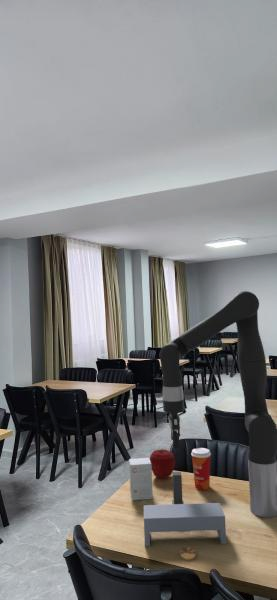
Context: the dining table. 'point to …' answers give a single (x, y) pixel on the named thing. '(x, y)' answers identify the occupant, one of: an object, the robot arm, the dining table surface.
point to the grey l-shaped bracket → (177, 488)
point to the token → (187, 553)
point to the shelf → (184, 519)
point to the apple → (162, 463)
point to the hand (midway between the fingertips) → (175, 443)
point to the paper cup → (201, 468)
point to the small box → (140, 479)
